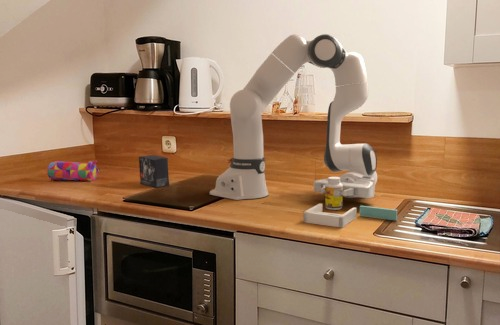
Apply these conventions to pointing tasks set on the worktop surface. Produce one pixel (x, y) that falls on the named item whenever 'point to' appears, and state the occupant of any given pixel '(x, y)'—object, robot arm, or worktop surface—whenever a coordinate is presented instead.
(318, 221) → the tray
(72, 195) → the worktop surface
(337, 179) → the supplement bottle
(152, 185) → the small box
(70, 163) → the pencil case
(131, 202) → the worktop surface
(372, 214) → the teal flat bar
